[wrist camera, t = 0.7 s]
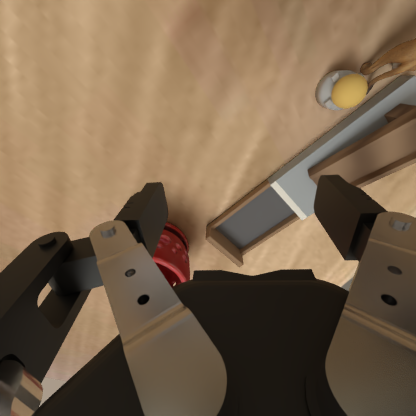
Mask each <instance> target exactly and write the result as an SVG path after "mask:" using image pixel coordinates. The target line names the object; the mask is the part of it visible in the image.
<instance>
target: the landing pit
mask: <svg viewBox="0 0 416 416" xmlns="http://www.w3.org/2000/svg"><path fill="white" fill-rule="evenodd" d="M298 219H300V218H299V217H298V215H297V214H296V213H295V212H294V211H293V210H292V209H291V208H290V207H289V205H288V204H287V203H286V202H285V201H284V200H283V199H282V198H281V196H280V195H279V194H278V193H277V192H276V191H275V190H274V189H273V188H272V186H271V185H270V184H269V181H268V179H267V180H265V181H264V182H263V183H261V184H260V185H259V186H258V187H256V188H255V189H254V190H252V191H251V192H250V193H249V194H247V195H246V196H245V197H243V198H242V199H241V200H240V201H238V202H237V203H236V204H234V205H233V206H232V207H231V208H229V209H228V210H227V211H225V212H224V213H223V214H221V215H220V216H219V217H218V218H216V219H215V220H214V221H212V222H211V223H210V224H209V225H207V228H206V240H207V241H208V242H209V243H211V244H212V245H213V246H214V247H215V248H217V249H218V250H219V251H220V252H221V253H223V254H224V255H225V256H226V257H227V258H229V259H230V260H231V261H232V262H233V263H235V264H236V265H237V266H238V267H241V266H242V265H243V258H242V256H243V255H244V254H246V253H247V252H249V251H250V250H252V249H253V248H255V247H256V246H258V245H259V244H261V243H263V242H264V241H266V240H267V239H269V238H270V237H272V236H273V235H275V234H276V233H278V232H280V231H281V230H283V229H284V228H286V227H287V226H289V225H290V224H292V223H293V222H295V221H296V220H298Z"/></svg>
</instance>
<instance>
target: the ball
mask: <svg viewBox="0 0 416 416" xmlns="http://www.w3.org/2000/svg"><path fill="white" fill-rule="evenodd" d="M367 90H368V84H367V81H366V79H365V78H364V77H363V76H361V75H359V74H349V75H346V76H344V77H342V78H341V79H340V80H338V81H337V83H336V84H335V85H334V87H333V89H332V93H331V98H332V101H333V103H334V104H335V105H336V106H337V107H339V108H344V109H347V108H351V107H354V106H356V105H357V104H359V103H360V102H361V101H362V100H363V99H364V97H365V95H366V93H367Z"/></svg>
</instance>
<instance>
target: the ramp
mask: <svg viewBox="0 0 416 416" xmlns="http://www.w3.org/2000/svg"><path fill="white" fill-rule="evenodd" d="M384 116H385V118H386V120H387V121H388V124H386V125H384V126H383V127H381V128H379V129H378V130H376V131H374V132H372V133H371V134H369V135H367V136H365V137H364V138H362V139H360V140H358V141H357V142H355V143H353V144H351V145H350V146H348V147H346V148H345V149H343V150H341V151H339V152H338V153H336V154H334V155H332V156H331V157H329V158H327V159H325V160H324V161H322V162H320V163H318V164H317V165H315V166H313V167H312V168H310V169H308V170H307V171H308V175H309V178H310V179H311V180H313V181H314V183H315V184H316V185H318V180H319V178H320V176H321V175H335V174H338V175H340V176H341V177H342V178H343V179H344V180H345V181H347V182H348V183H349V184H352V185H354V186H356V187H358V188H361V187H363V186H366V185H368V184H370V183H372V182H374V181H377V180H379V179H381V178H383V177H385V176H387V175H390V174H392V173H394V172H396V171H398V170H401V169H403V168H405V167H407V166H409V165H411V164H414V163H416V106H415V105H408V104H401V103H400V104H399V105H397V106H396V107H395V108H393V109H392V110H390V111H389V112H388V113H386V114H385V115H384Z"/></svg>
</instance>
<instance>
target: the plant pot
mask: <svg viewBox="0 0 416 416" xmlns="http://www.w3.org/2000/svg"><path fill="white" fill-rule="evenodd" d="M188 250H189V246H188V241H187V239H186V237H185V235H184V234H183V233H182V231H181V230H179V229H178V228H177V227H176V226H174V225H172V224H170V223H167V222H166V224H165V227H164V229H163V232H162V235H161V237H160V240H159V242H158V245H157V248H156V250H155V253H154V256H153V258H152V259H153V260H154V262H155V263H156V265H157V266H158V268H159V269H160V271H161V272H162V274H163V275H164V277H165V279H166V280H167V282H168V283H169V285H170V286H171V288H172V287H174V286H173V284H174V283H175V282H176V285H178V284H180V283H183V282H185V281H188V280H190V268H189V257H188ZM176 285H175V286H176Z"/></svg>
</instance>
